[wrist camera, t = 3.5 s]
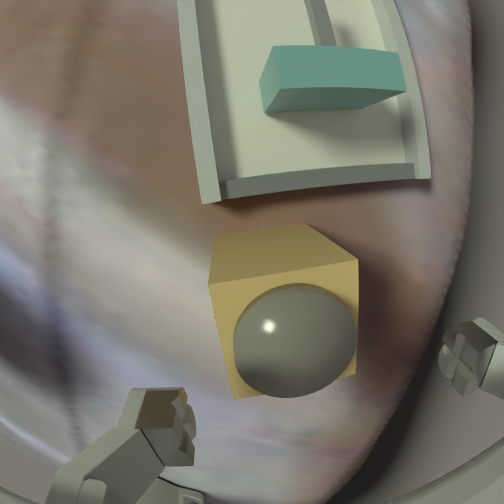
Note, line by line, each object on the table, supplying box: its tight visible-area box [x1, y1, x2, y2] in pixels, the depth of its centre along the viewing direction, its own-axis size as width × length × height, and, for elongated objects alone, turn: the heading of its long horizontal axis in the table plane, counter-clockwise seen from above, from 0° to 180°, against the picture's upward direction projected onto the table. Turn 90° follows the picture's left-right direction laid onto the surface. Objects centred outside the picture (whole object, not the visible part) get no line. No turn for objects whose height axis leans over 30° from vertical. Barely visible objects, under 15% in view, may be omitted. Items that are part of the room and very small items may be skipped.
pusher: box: [259, 0, 407, 113], centre depth 12 cm, size 8×6×5 cm
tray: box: [177, 0, 431, 204], centre depth 13 cm, size 20×14×4 cm
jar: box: [208, 223, 359, 399], centre depth 14 cm, size 6×6×9 cm
